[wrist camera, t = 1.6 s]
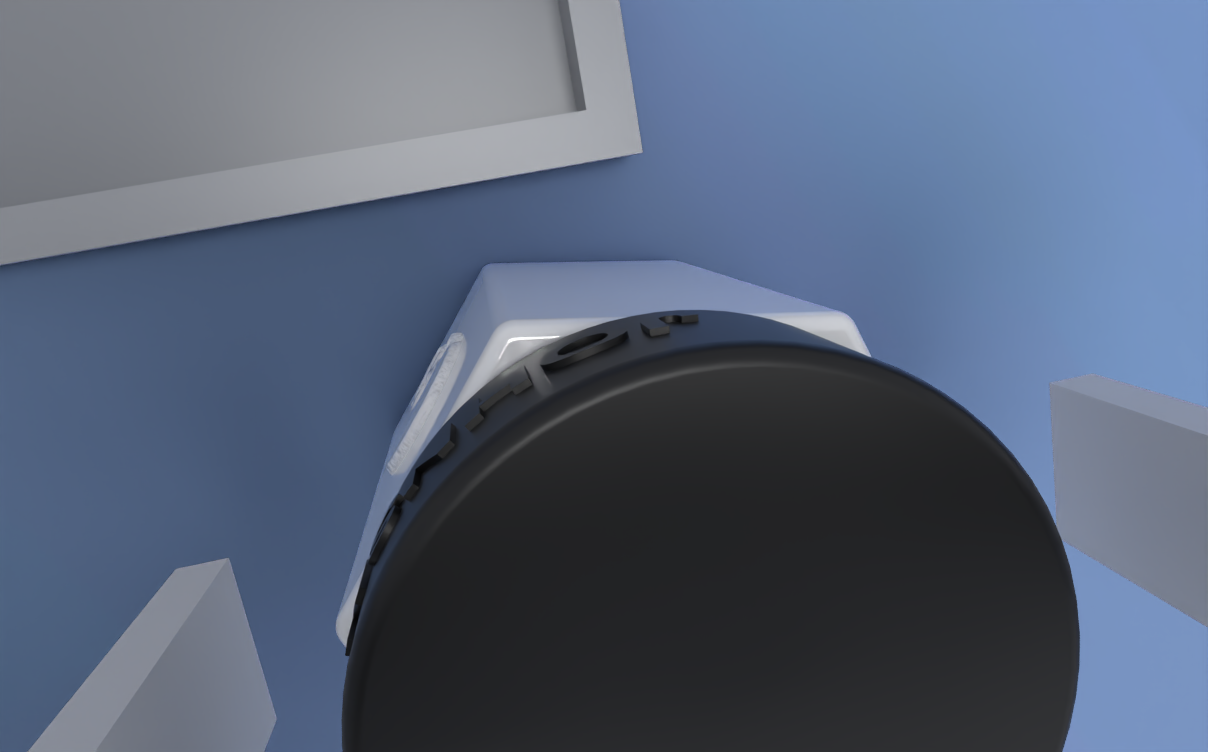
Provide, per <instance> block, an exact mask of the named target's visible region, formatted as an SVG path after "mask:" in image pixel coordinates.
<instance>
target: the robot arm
mask: <svg viewBox="0 0 1208 752" xmlns="http://www.w3.org/2000/svg"><path fill="white" fill-rule="evenodd" d="M1050 403H1051V422H1052V442H1053V462H1054V482H1055V502H1056V522H1057V529H1058V532H1059V534H1060V536H1061V539H1062V541H1064V542H1066V543H1067V544H1069V545H1071V546H1072V547H1074V548H1076V549H1078V550H1079V551H1081V552H1083V553H1084V554H1086V555H1088V556H1089V557H1091V558H1093V559H1094V560H1096V561H1098V562H1099V563H1101V564H1103V565H1104V566H1106V567H1108V568H1109V569H1111V570H1113V571H1114V572H1116V573H1118V574H1119V575H1121V576H1123V577H1124V578H1126V579H1128V580H1129V581H1131V582H1133V583H1134V584H1136V585H1138V586H1139V587H1141V588H1143V589H1144V590H1146V591H1148V592H1149V593H1151V594H1153V595H1154V596H1156V597H1158V598H1160V599H1161V600H1163V601H1165V602H1166V603H1168V604H1170V605H1171V606H1173V607H1175V608H1176V609H1178V610H1180V611H1181V612H1183V613H1185V614H1186V615H1188V616H1190V617H1191V618H1193V619H1195V620H1196V621H1198V622H1200V623H1201V624H1203V625H1205V626H1206V627H1208V408H1207V407H1204V406H1201V405H1197V404H1194V403H1191V402H1187V401H1184V400H1180V399H1177V398H1174V397H1170V396H1167V395H1163V394H1160V393H1157V392H1153V391H1150V390H1147V389H1143V388H1140V387H1136V386H1133V385H1130V384H1126V383H1123V382H1119V381H1116V380H1113V379H1109V378H1106V377H1102V376H1099V375H1096V374H1088V375H1084V376H1079V377H1074V378H1070V379H1065V380H1060V381H1056V382H1051V383H1050ZM276 720H277V717H276V714H275V710H274V707H273V704H272V700H271V697H270V694H269V690H268V687H267V684H266V680H265V677H264V674H263V670H262V667H261V663H260V660H259V657H258V653H257V650H256V647H255V643H254V640H253V637H252V633H251V630H250V627H249V623H248V620H247V616H246V613H245V610H244V606H243V603H242V600H241V596H240V593H239V590H238V586H237V583H236V580H235V576H234V573H233V570H232V566H231V563H230V559H229V558H225V559H220V560H215V561H211V562H206V563H201V564H197V565H192V566H187V567H182V568H178V569H175V570H174V572H173V573H172V574H171V575H170V577H169V578H168V579H167V580H166V582H165V583H164V584H163V585H162V587H161V588H160V589H159V590H158V591H157V593H156V594H155V595H154V596H153V598H152V599H151V600H150V601H149V603H148V604H147V605H146V606H145V607H144V609H143V610H142V611H141V612H140V614H139V615H138V616H137V617H136V619H135V620H134V621H133V622H132V624H131V625H130V626H129V627H128V628H127V630H126V631H125V632H124V633H123V635H122V636H121V637H120V638H119V640H118V641H117V642H116V643H115V644H114V646H113V647H112V648H111V649H110V651H109V652H108V653H107V654H106V656H105V657H104V658H103V659H102V661H101V662H100V663H99V664H98V665H97V667H96V668H95V669H94V670H93V672H92V673H91V674H90V675H89V677H88V678H87V679H86V680H85V681H84V683H83V684H82V685H81V686H80V688H79V689H78V690H77V691H76V693H75V694H74V695H73V696H72V698H71V699H70V700H69V701H68V702H67V704H66V705H65V706H64V707H63V709H62V710H61V711H60V712H59V714H58V715H57V716H56V717H55V718H54V720H53V721H52V722H51V723H50V725H49V726H48V727H47V728H46V730H45V731H44V732H43V733H42V735H41V736H40V737H39V738H38V739H37V741H36V742H35V743H34V744H33V746H32V747H31V748H30V749H29V751H28V752H264V751H265V749H266V746H267V744H268V741H269V739H270V736H271V733H272V731H273V728H274V726H275V723H276Z"/></svg>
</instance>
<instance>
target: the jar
mask: <svg viewBox="0 0 1208 752" xmlns="http://www.w3.org/2000/svg"><path fill="white" fill-rule="evenodd" d="M336 632H337V636H338V638H339V639H340V641H341V642H342V643H343V645H344V646H345V647H346V653H345V656H349V661H348V665H347V671H346V678H345V685H344V692H343V707H342V748H343V752H1062V751H1063V747H1064V744H1065V741H1066V737H1067V734H1068V731H1069V727H1070V723H1071V718H1072V713H1073V708H1074V703H1075V698H1076V691H1077V682H1078V673H1079V653H1080V631H1079V620H1078V609H1077V600H1076V594H1075V589H1074V584H1073V579H1072V574H1071V569H1070V565H1069V562H1068V559H1067V555H1066V552H1065V549H1064V546H1063V543H1062V539H1061V536H1060V534H1059V532H1058V529H1057V527H1056V525H1055V523H1054V520H1053V518H1052V516H1051V514H1050V511H1049V509H1048V507H1047V505H1046V503H1045V502H1044V500H1043V498H1042V497H1041V495H1040V493H1039V491H1038V490H1037V488H1036V486H1035V484H1034V483H1033V481H1032V479H1031V478H1030V477H1029V475H1028V474H1027V473H1026V471H1025V470H1024V469H1023V467H1022V466H1021V465H1020V463H1019V462H1018V461H1017V459H1016V458H1015V457H1014V455H1013V454H1012V453H1011V452H1010V451H1009V450H1008V448H1007V447H1006V446H1005V445H1004V444H1003V443H1002V442H1001V441H1000V440H999V439H998V438H997V437H996V436H995V435H994V434H993V432H992V431H991V430H990V429H989V428H988V427H986V426H985V425H984V424H983V423H982V422H981V421H980V420H978V419H977V418H976V417H975V416H974V415H973V414H971V413H970V412H969V411H968V410H967V409H965V408H964V407H963V406H962V405H960V404H959V403H957V402H956V401H955V400H953V399H952V398H950V397H949V396H948V395H946V394H945V393H943V392H942V391H940V390H938V389H937V388H935V387H933V386H932V385H930V384H928V383H926V382H925V381H923V380H921V379H919V378H917V377H915V376H913V375H911V374H909V373H907V372H905V371H903V370H901V369H899V368H897V367H894V366H892V365H889V364H887V363H884V362H882V361H879V360H877V359H874V358H872V356H871V354H870V352H869V350H868V348H867V346H866V344H865V342H864V340H863V338H862V336H861V334H860V332H859V330H858V328H857V326H856V324H855V323H854V321H853V320H852V319H851V318H850V317H849V316H848V315H847V314H845V313H843V312H841V311H837V310H834V309H831V308H828V307H825V306H821V305H818V304H815V303H812V302H809V301H805V300H802V299H799V298H796V297H793V296H790V295H786V294H783V293H780V292H777V291H774V290H770V289H767V288H764V287H761V286H758V285H754V284H751V283H748V282H745V281H742V280H738V279H735V278H732V277H729V276H726V275H723V274H719V273H716V272H713V271H710V270H707V269H703V268H700V267H697V266H694V265H691V264H687V263H684V262H681V261H678V260H651V261H591V262H532V263H491V264H488V265H486V266H484V267H483V268H482V270H481V271H480V273H479V275H478V277H477V279H476V281H475V283H474V284H473V286H472V288H471V290H470V292H469V294H468V296H467V297H466V299H465V301H464V303H463V305H462V307H461V308H460V310H459V312H458V314H457V316H456V318H455V320H454V321H453V323H452V325H451V327H450V329H449V331H448V333H447V334H446V336H445V338H444V340H443V342H442V344H441V345H440V347H439V349H438V350H437V352H436V354H435V356H434V357H433V359H432V361H431V363H430V365H429V367H428V369H427V371H426V373H425V375H424V377H423V379H422V381H421V383H420V384H419V386H418V388H417V390H416V392H415V394H414V395H413V397H412V399H411V401H410V403H409V405H408V407H407V408H406V410H405V412H404V414H403V416H402V418H401V420H400V421H399V423H398V425H397V427H396V429H395V431H394V434H393V437H392V440H391V443H390V447H389V450H388V453H387V456H386V460H385V463H384V466H383V469H382V473H381V476H380V479H379V482H378V486H377V489H376V492H375V495H374V499H373V502H372V505H371V508H370V512H369V515H368V518H367V521H366V525H365V528H364V531H363V534H362V538H361V541H360V544H359V548H358V551H357V554H356V557H355V561H354V564H353V567H352V570H351V574H350V577H349V580H348V583H347V587H346V590H345V593H344V596H343V600H342V603H341V606H340V609H339V613H338V616H337V619H336Z"/></svg>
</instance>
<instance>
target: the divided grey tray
mask: <svg viewBox="0 0 1208 752" xmlns="http://www.w3.org/2000/svg"><path fill="white" fill-rule="evenodd" d="M639 153H643V151H642V144H641V138H640V131H639V125H638V118H637V112H636V106H635V99H634V93H633V86H632V80H631V73H630V67H629V61H628V54H627V48H626V41H625V35H624V28H623V22H622V15H621V9H620V3H619V0H0V266H3V265H9V264H14V263H20V262H26V261H31V260H37V259H43V258H49V257H54V256H60V255H66V254H72V253H77V252H83V251H89V250H94V249H100V248H106V247H112V246H117V245H123V244H129V243H134V242H140V241H146V240H152V239H157V238H163V237H169V236H174V235H180V234H186V233H192V232H197V231H203V230H209V229H215V228H220V227H226V226H232V225H237V224H243V223H249V222H255V221H260V220H266V219H272V218H277V217H283V216H289V215H295V214H300V213H306V212H312V211H317V210H323V209H329V208H335V207H340V206H346V205H352V204H358V203H363V202H369V201H375V200H380V199H386V198H392V197H398V196H403V195H409V194H415V193H420V192H426V191H432V190H438V189H443V188H449V187H455V186H460V185H466V184H472V183H478V182H483V181H489V180H495V179H501V178H506V177H512V176H518V175H523V174H529V173H535V172H541V171H546V170H552V169H558V168H563V167H569V166H575V165H581V164H586V163H592V162H598V161H603V160H609V159H615V158H621V157H626V156H630V155H634V154H639Z"/></svg>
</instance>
